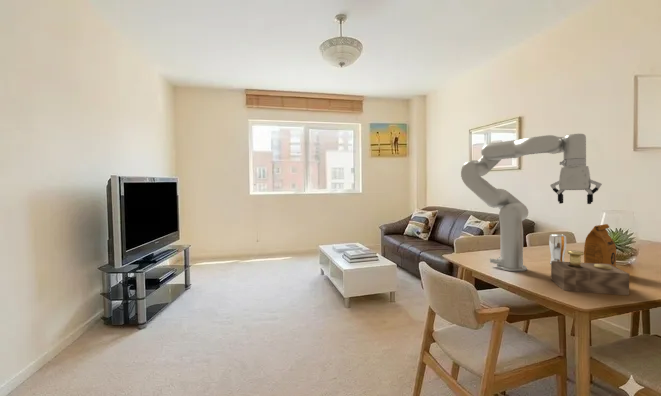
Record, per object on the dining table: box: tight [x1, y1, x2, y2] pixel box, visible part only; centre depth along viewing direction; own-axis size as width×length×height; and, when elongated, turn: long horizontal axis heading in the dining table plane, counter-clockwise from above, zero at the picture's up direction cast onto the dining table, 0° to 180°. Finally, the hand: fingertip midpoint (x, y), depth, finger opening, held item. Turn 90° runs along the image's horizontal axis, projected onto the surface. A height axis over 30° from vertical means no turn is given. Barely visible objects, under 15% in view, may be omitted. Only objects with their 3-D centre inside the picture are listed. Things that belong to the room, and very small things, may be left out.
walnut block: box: [550, 260, 630, 296], centre depth 122 cm, size 20×14×9 cm
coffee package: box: [583, 223, 617, 268], centre depth 140 cm, size 10×12×22 cm
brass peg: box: [566, 249, 584, 268], centre depth 123 cm, size 5×5×8 cm
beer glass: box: [548, 233, 567, 265], centre depth 155 cm, size 7×7×15 cm
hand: (574, 203), depth 131 cm, fingers open, 9 cm apart
